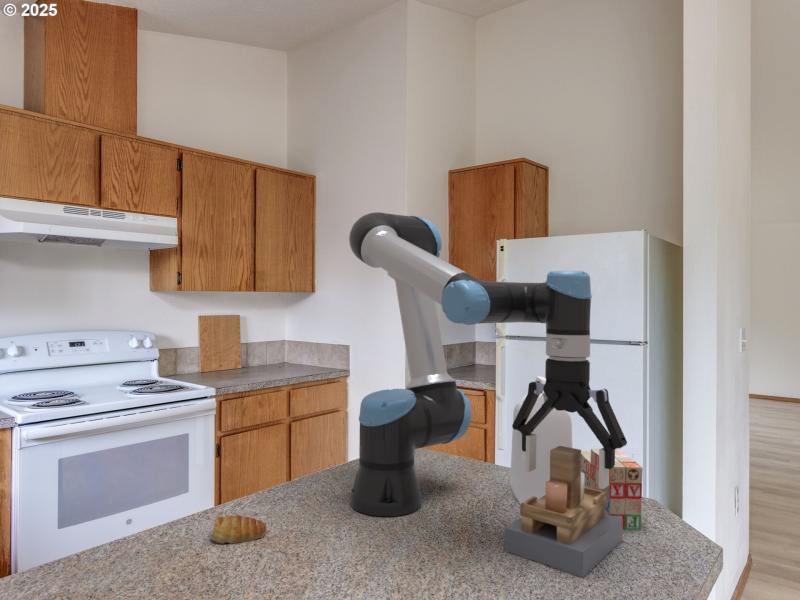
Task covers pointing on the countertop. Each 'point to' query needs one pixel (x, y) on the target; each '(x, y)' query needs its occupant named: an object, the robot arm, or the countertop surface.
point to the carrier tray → (566, 519)
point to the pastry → (237, 529)
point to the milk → (538, 449)
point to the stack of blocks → (617, 486)
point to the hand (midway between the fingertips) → (565, 478)
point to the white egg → (582, 486)
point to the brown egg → (556, 496)
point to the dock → (565, 545)
